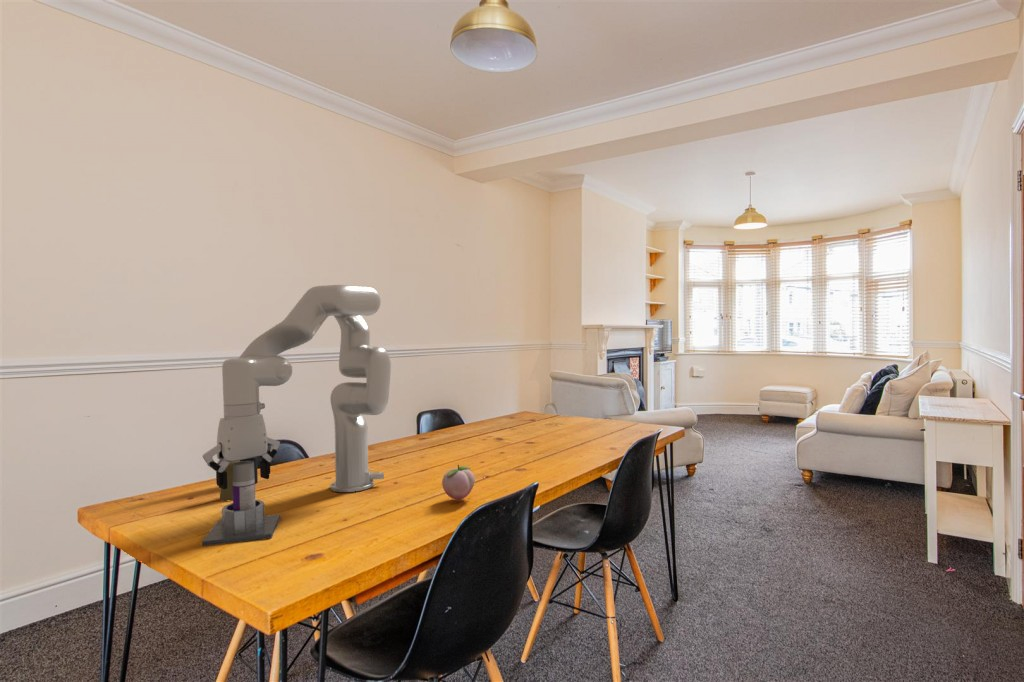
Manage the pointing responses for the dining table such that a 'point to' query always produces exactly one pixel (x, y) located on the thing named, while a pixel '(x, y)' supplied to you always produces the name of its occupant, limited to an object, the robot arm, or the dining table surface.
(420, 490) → the dining table surface
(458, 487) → the decorative fruit
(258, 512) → the duct collar
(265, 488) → the dining table surface
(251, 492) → the container
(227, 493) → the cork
